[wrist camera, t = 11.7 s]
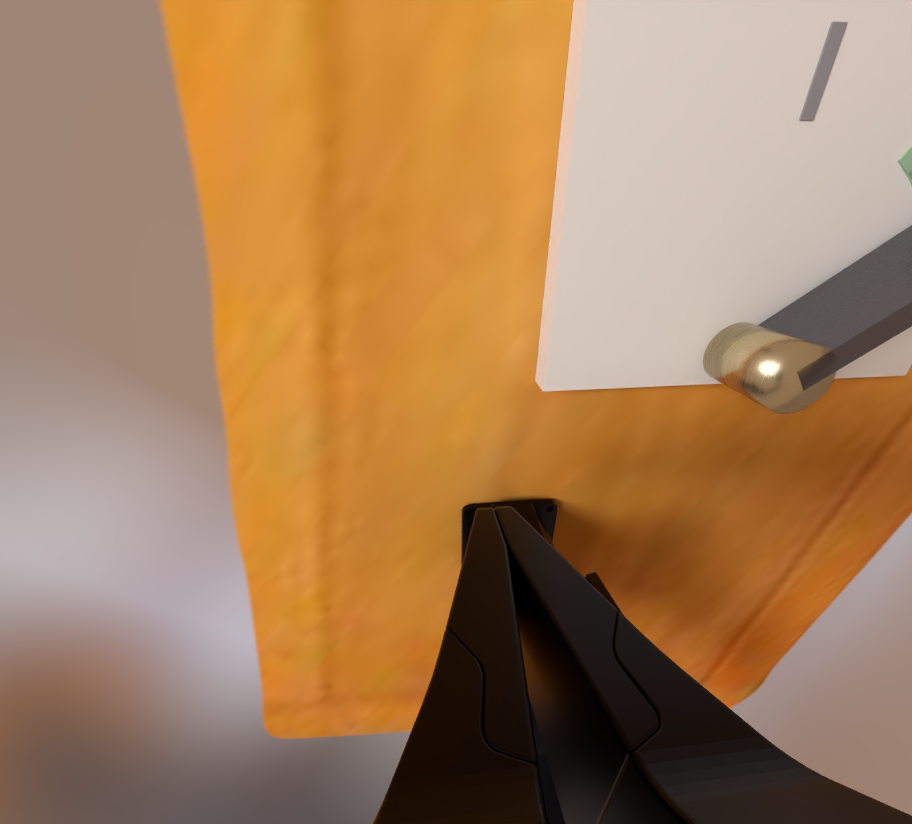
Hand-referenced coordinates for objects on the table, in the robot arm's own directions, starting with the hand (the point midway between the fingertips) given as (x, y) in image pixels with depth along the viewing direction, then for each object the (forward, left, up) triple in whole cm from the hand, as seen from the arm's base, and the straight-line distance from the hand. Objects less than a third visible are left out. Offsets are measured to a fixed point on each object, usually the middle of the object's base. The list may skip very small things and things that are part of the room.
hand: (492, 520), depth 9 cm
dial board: (+8, -16, -13) cm, 22 cm away
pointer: (+4, -20, -11) cm, 23 cm away
